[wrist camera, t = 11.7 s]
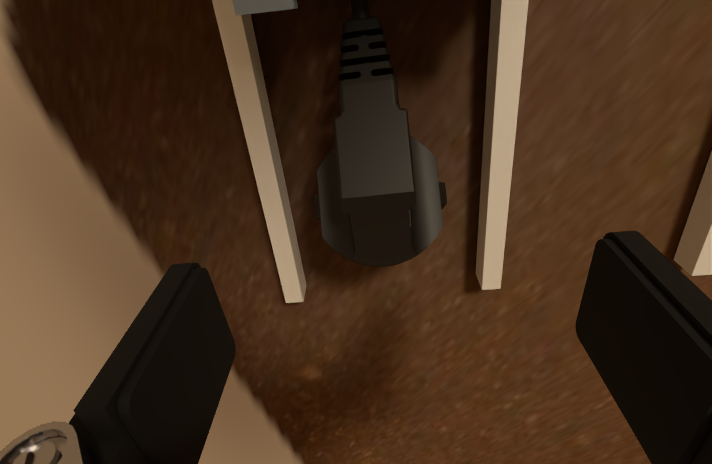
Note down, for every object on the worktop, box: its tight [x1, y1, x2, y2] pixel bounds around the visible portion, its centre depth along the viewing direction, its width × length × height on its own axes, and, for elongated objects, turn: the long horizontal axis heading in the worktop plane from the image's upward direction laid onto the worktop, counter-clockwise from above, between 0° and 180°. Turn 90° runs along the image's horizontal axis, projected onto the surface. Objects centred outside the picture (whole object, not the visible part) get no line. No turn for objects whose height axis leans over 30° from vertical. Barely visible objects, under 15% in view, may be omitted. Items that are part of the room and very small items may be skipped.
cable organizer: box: [212, 0, 712, 303], centre depth 18 cm, size 17×23×4 cm
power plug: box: [314, 0, 447, 267], centre depth 18 cm, size 6×8×12 cm
